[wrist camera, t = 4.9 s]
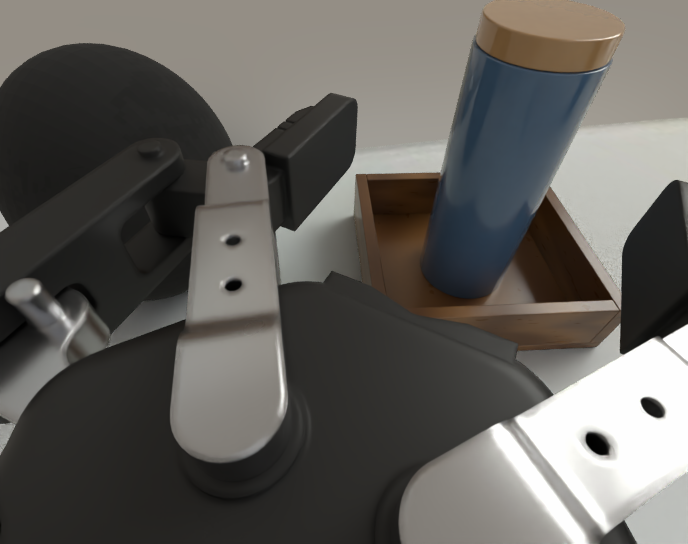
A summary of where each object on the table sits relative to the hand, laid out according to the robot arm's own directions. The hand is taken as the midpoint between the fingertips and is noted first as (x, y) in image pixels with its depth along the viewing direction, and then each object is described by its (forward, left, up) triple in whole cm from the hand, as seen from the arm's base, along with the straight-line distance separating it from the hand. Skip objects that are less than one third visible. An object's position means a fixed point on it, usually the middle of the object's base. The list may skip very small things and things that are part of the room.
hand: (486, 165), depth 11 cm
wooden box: (-6, -10, -16) cm, 19 cm away
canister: (-6, -10, -15) cm, 19 cm away
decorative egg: (+15, -11, -16) cm, 25 cm away
